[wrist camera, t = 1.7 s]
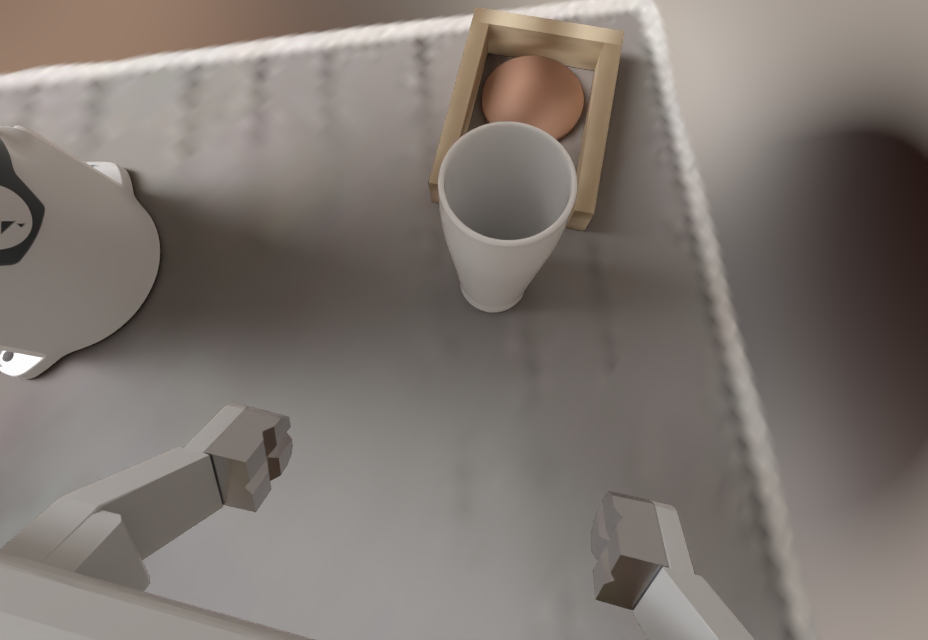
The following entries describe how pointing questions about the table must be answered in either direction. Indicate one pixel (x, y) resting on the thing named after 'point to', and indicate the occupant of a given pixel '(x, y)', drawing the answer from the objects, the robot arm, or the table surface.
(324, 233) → the table surface
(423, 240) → the table surface
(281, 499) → the table surface
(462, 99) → the guide channel
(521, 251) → the white cup
